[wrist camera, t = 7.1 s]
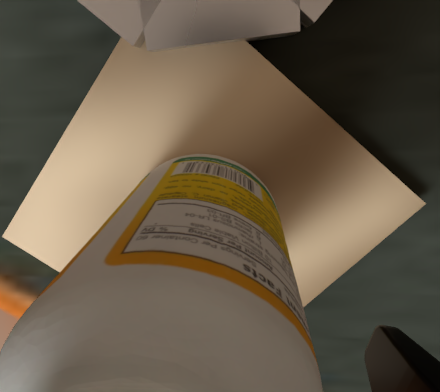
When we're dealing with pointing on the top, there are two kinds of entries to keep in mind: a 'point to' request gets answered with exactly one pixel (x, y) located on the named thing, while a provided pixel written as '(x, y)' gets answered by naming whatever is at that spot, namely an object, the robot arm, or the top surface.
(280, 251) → the supplement bottle
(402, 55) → the top surface
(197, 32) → the grey octagonal ring
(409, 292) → the top surface
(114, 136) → the coaster
